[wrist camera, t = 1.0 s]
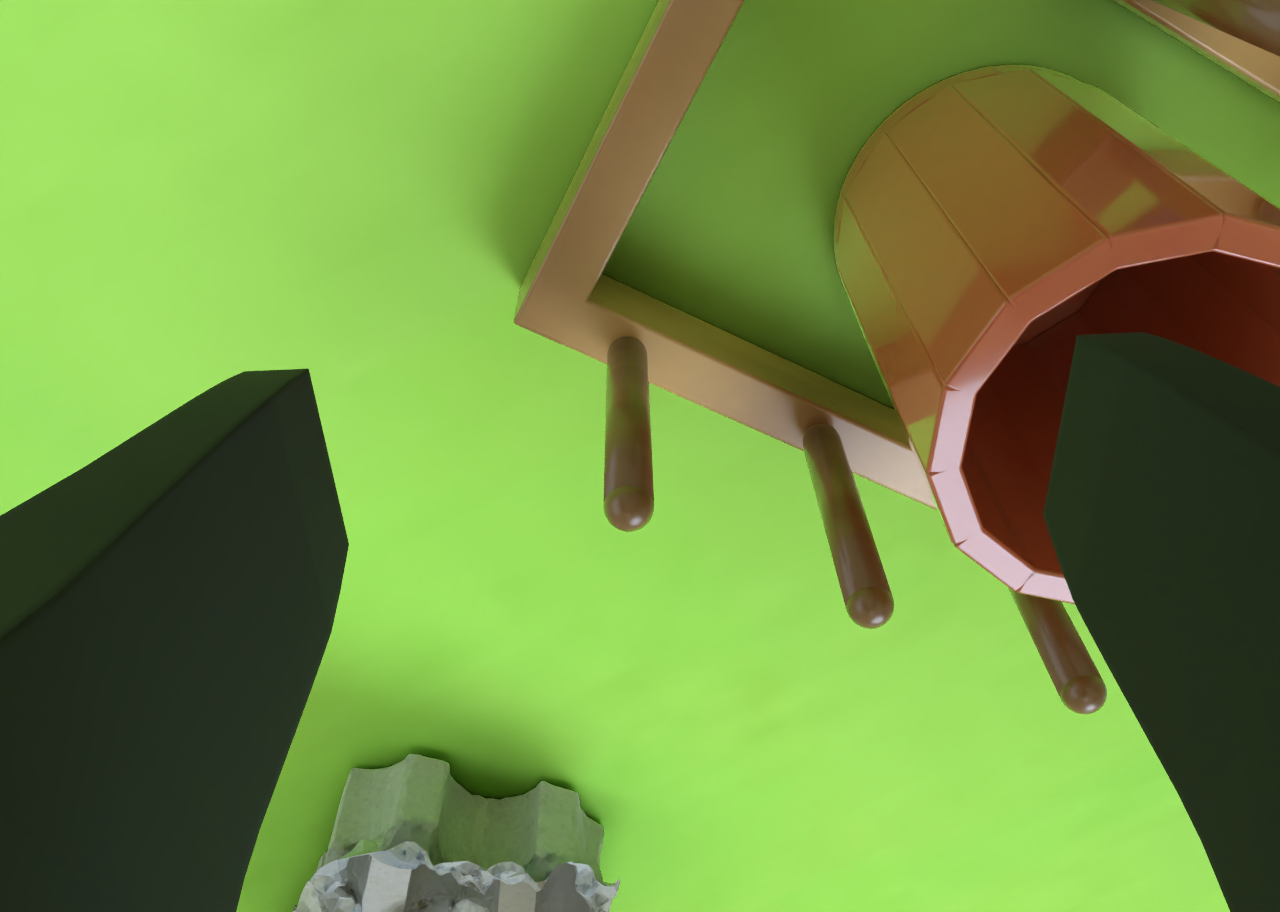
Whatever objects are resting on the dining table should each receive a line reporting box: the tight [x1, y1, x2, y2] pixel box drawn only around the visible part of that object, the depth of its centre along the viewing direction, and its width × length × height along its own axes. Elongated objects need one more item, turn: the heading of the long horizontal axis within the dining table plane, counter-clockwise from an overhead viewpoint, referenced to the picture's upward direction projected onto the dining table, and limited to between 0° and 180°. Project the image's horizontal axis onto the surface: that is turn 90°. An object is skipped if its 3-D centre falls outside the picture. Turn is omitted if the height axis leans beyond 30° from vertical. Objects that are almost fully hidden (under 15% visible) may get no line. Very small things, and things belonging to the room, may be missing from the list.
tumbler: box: [833, 65, 1280, 604], centre depth 17 cm, size 6×6×8 cm
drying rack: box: [514, 0, 1280, 714], centre depth 17 cm, size 12×10×7 cm
